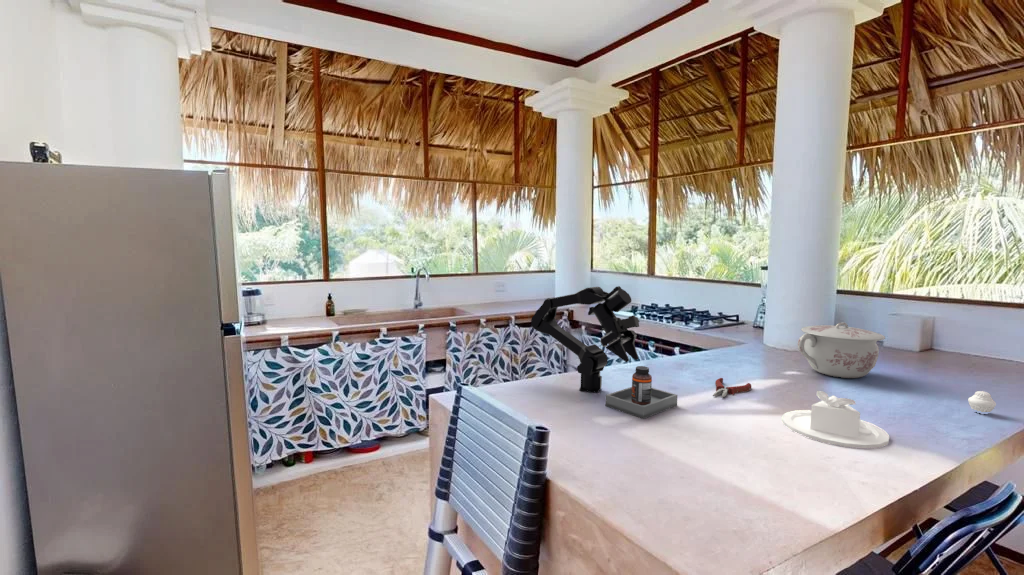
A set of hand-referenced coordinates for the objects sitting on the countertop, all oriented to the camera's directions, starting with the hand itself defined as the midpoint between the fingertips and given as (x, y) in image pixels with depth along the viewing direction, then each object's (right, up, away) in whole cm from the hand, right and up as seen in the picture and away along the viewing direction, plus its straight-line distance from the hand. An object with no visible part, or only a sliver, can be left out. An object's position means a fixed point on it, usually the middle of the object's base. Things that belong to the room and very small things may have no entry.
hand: (632, 360), depth 154 cm
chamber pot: (+90, -11, +36) cm, 98 cm away
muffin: (+106, -15, -7) cm, 107 cm away
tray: (+2, -14, -4) cm, 14 cm away
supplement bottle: (+2, -13, -4) cm, 14 cm away
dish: (+51, -16, -21) cm, 57 cm away
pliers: (+35, -13, +13) cm, 40 cm away
